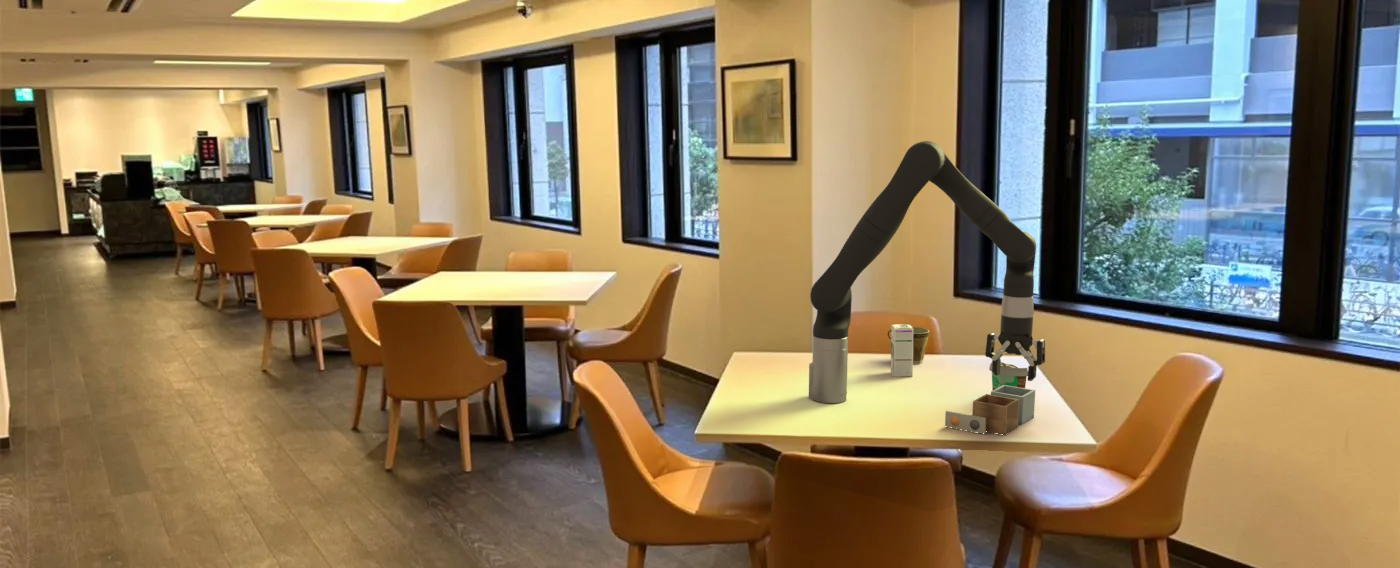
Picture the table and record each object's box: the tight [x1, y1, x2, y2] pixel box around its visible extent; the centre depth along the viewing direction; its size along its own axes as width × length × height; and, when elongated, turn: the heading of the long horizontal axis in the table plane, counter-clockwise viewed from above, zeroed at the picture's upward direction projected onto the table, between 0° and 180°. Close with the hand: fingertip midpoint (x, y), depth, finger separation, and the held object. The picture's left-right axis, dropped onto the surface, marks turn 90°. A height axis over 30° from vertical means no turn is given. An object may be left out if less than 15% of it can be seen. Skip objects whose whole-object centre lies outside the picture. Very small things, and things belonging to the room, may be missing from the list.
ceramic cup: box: [887, 326, 930, 365], centre depth 312 cm, size 13×10×10 cm
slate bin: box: [990, 385, 1036, 426], centre depth 253 cm, size 8×8×7 cm
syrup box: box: [890, 323, 914, 378], centre depth 296 cm, size 6×6×14 cm
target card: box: [944, 410, 987, 435], centre depth 243 cm, size 10×1×4 cm, turn 52°
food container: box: [988, 359, 1028, 391], centre depth 269 cm, size 12×6×10 cm, turn 21°
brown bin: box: [971, 393, 1019, 436], centre depth 244 cm, size 8×8×7 cm
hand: (1013, 377), depth 252 cm, fingers open, 8 cm apart
